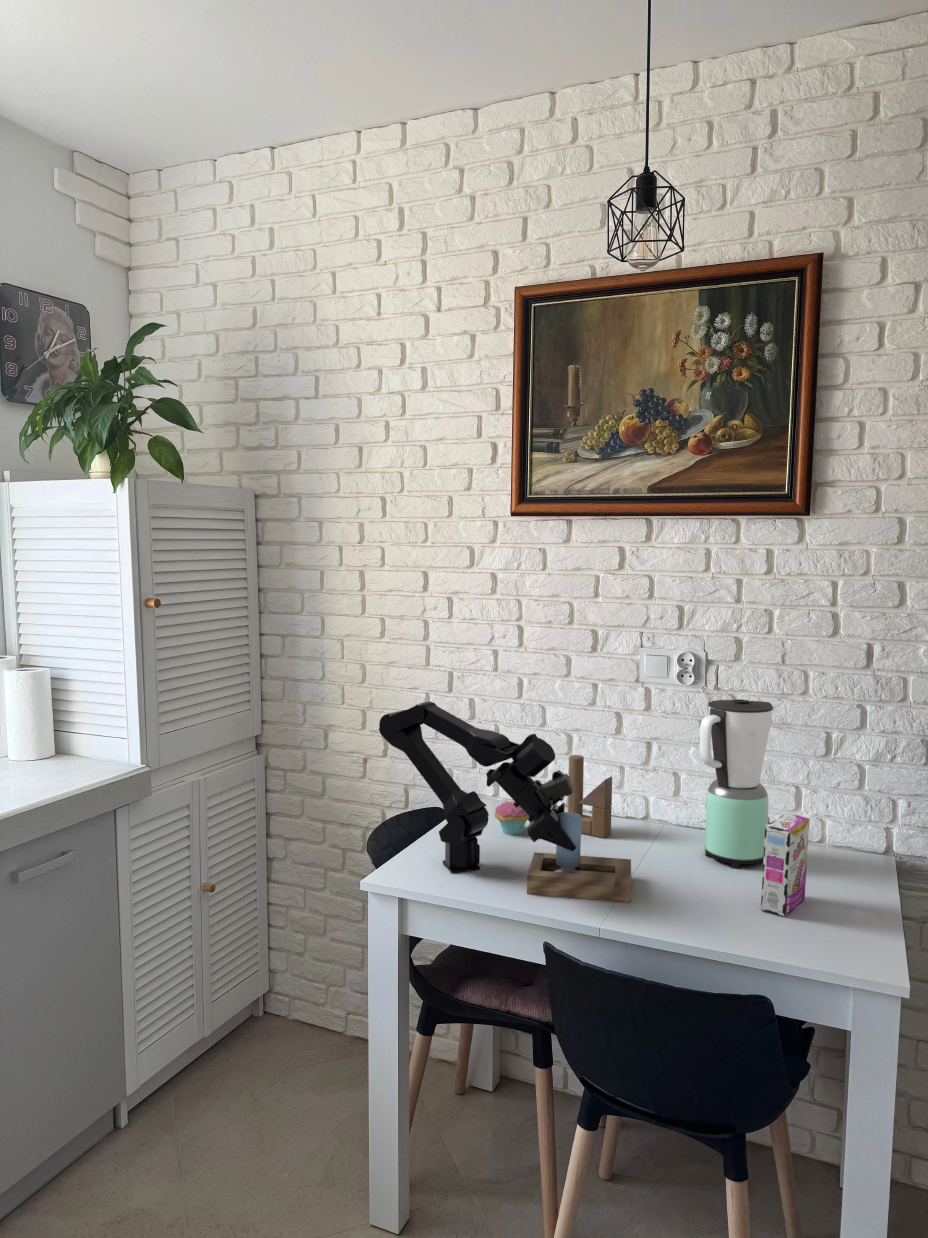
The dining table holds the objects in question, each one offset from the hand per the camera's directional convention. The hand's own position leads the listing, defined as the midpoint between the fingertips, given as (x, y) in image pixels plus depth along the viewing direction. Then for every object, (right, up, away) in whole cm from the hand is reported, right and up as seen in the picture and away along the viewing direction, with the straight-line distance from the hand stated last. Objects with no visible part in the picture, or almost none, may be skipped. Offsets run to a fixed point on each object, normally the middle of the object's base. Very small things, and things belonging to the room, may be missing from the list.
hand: (575, 845), depth 175 cm
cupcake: (-11, -6, +33) cm, 36 cm away
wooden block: (+7, -6, +33) cm, 35 cm away
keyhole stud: (-1, -7, +1) cm, 7 cm away
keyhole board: (+1, -8, +1) cm, 8 cm away
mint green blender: (+36, -7, +16) cm, 41 cm away
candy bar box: (+39, -9, -9) cm, 41 cm away
